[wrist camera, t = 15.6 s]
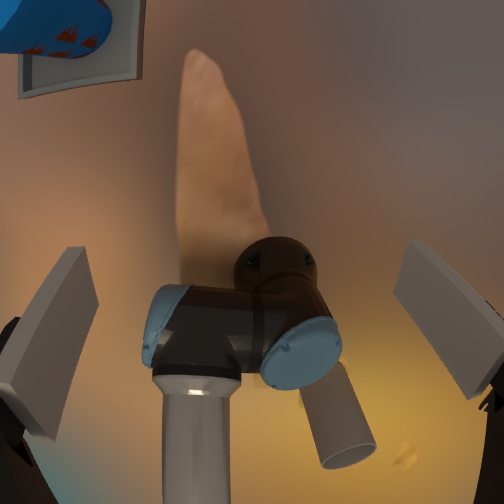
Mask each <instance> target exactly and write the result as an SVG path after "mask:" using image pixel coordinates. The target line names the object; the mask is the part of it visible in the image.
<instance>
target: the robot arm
mask: <svg viewBox="0 0 504 504" xmlns="http://www.w3.org/2000/svg"><path fill="white" fill-rule="evenodd" d="M234 283H235V288H236V289H226V288H215V287H205V286H195V285H194V284H188V285H172V284H168V285H165V286H162V287H161V288H160V289H159V290H158V291H157V292H156V294H155V296H154V298H153V301H152V303H151V306H150V309H149V313H148V316H147V320H146V325H145V330H144V336H143V340H144V342H143V347H142V362H143V364H144V365H145V366H147V367H148V368H153V371H152V381H153V382H154V383H155V384H156V385H157V387H158V388H159V389H160V390H161V392H162V393H163V409H162V496H163V504H231V497H230V424H229V423H230V421H229V420H230V410H229V409H230V407H229V405H230V403H229V399H230V397H231V395H232V394H233V393H234V392H235V391H236V390H237V389H238V388H239V387H240V386H241V373H260V376H261V378H262V379H263V380H264V382H265V383H266V384H267V385H269V386H271V387H272V388H274V389H277V390H294V389H299V388H302V387H305V386H308V385H310V384H312V383H314V382H316V381H317V380H319V379H320V378H322V377H323V376H325V375H326V374H327V373H328V372H329V371H330V370H331V369H332V368H333V367H334V366H335V364H336V363H337V361H338V360H339V358H340V355H341V352H342V340H341V337H340V334H339V331H338V327H337V323H336V322H335V320H334V319H333V317H332V315H331V313H330V311H329V309H328V307H327V305H326V303H325V302H324V300H323V298H322V296H321V294H320V292H319V290H318V288H317V267H316V263H315V261H314V259H313V257H312V255H311V253H310V252H309V250H308V249H307V248H306V247H305V246H304V245H303V244H302V243H300V242H299V241H297V240H294V239H292V238H287V237H270V238H265V239H262V240H260V241H258V242H256V243H254V244H252V245H251V246H249V247H248V248H247V249H246V250H245V251H244V252H243V253H242V254H241V256H240V257H239V259H238V260H237V262H236V265H235V268H234ZM393 293H394V295H395V296H396V297H397V299H398V300H399V301H400V303H401V304H402V305H403V307H404V308H405V310H406V311H407V312H408V314H409V315H410V316H411V318H412V319H413V320H414V322H415V323H416V324H417V326H418V327H419V329H420V330H421V331H422V333H423V334H424V336H425V337H426V339H427V340H428V341H429V343H430V344H431V345H432V347H433V349H434V350H435V351H436V353H437V354H438V356H439V357H440V359H441V360H442V361H443V363H444V365H445V366H446V367H447V369H448V371H449V372H450V374H451V375H452V376H453V378H454V380H455V381H456V383H457V384H458V386H459V387H460V389H461V390H462V392H463V394H464V395H465V397H466V399H467V400H470V399H472V398H475V397H477V396H479V395H481V394H482V393H483V391H484V390H485V388H486V387H487V386H488V385H489V383H490V384H491V386H492V387H493V389H492V390H491V391H490V393H489V394H488V395H487V397H486V398H485V399H484V400H483V402H482V403H481V404H480V406H479V410H481V409H482V408H483V406H484V405H485V404H486V403H488V406H487V407H486V408H485V409H484V411H486V412H488V414H487V425H486V435H485V444H484V451H483V458H482V464H481V470H480V475H479V481H478V485H477V490H476V494H475V499H474V503H473V504H504V319H503V318H501V316H500V315H499V314H498V313H497V312H495V309H494V308H493V307H492V306H491V305H490V304H489V303H488V302H487V301H486V300H484V299H483V298H482V297H481V296H480V295H479V294H478V293H477V292H476V291H475V290H474V289H473V288H472V287H471V286H470V285H469V284H468V283H467V282H466V281H465V280H464V279H463V278H462V277H461V276H460V275H459V274H458V273H457V272H456V271H455V270H453V268H451V267H450V266H449V265H448V264H447V263H446V262H445V261H444V260H443V259H442V258H441V257H440V256H439V255H438V254H436V253H435V252H434V251H433V250H432V249H431V248H430V247H429V246H428V245H426V244H425V243H424V242H423V241H422V240H411V241H410V240H409V241H408V245H407V248H406V252H405V256H404V259H403V262H402V266H401V269H400V272H399V276H398V280H397V282H396V285H395V288H394V291H393ZM98 306H99V303H98V299H97V295H96V292H95V288H94V284H93V280H92V276H91V272H90V267H89V263H88V259H87V254H86V249H85V247H84V246H83V247H82V246H81V247H68V248H67V249H66V250H65V252H64V253H63V254H62V256H61V257H60V258H59V260H58V261H57V263H56V264H55V266H54V267H53V268H52V270H51V271H50V273H49V274H48V276H47V277H46V279H45V280H44V282H43V283H42V285H41V286H40V288H39V289H38V291H37V293H36V294H35V296H34V297H33V299H32V300H31V302H30V304H29V305H28V307H27V308H26V310H25V312H24V313H23V315H22V317H15V318H14V319H13V320H12V321H10V322H9V323H8V324H7V325H6V326H5V327H4V329H3V331H2V332H1V334H0V504H58V502H57V500H56V498H55V497H54V495H53V493H52V491H51V490H50V488H49V486H48V484H47V482H46V481H45V479H44V477H43V475H42V473H41V471H40V469H39V467H38V465H37V463H36V461H35V459H34V457H33V455H32V453H31V451H30V448H29V446H28V444H27V442H26V441H25V439H24V438H23V434H24V430H25V428H26V429H27V431H28V432H29V433H30V434H31V435H32V436H33V438H35V439H40V440H44V441H48V442H53V443H55V440H56V436H57V432H58V428H59V424H60V420H61V416H62V413H63V409H64V406H65V402H66V399H67V395H68V392H69V388H70V385H71V382H72V379H73V376H74V373H75V370H76V366H77V363H78V360H79V357H80V354H81V352H82V349H83V346H84V343H85V340H86V338H87V335H88V332H89V329H90V327H91V324H92V321H93V319H94V316H95V314H96V311H97V309H98Z"/></svg>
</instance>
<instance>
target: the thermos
mask: <svg viewBox="0 0 504 504" xmlns="http://www.w3.org/2000/svg"><path fill="white" fill-rule="evenodd" d="M112 21H113V18H112V14H111V10H110V8H109V7H108V6H107V4H106V3H105V2H104V1H103V0H0V53H8V54H23V55H34V56H44V57H53V58H66V59H77V58H81V57H85V56H88V55H89V54H91V53H92V52H94V51H96V50H97V49H98V48H99V47H100V46H101V45H102V44H103V43H104V42H105V40H106V39H107V37H108V35H109V33H110V31H111V26H112Z"/></svg>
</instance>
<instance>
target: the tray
mask: <svg viewBox="0 0 504 504" xmlns="http://www.w3.org/2000/svg"><path fill="white" fill-rule="evenodd" d="M103 1H104V2H105V3H106V4H107V6H108V7H109V8H110V10H111V14H112V18H113V21H112V26H111V31H110V33H109V35H108V37H107V39H106V40H105V42H104V43H103V44H102V45H101V46H100V47H99V48H98V49H97V50H96V51H94V52H92V53H91V54H89V55H88V56H85V57H81V58H77V59H66V58H53V57H44V56H34V55H23V54H18V99H25V98H32V97H36V96H40V95H44V94H49V93H53V92H58V91H63V90H68V89H73V88H78V87H84V86H91V85H97V84H104V83H111V82H119V81H129V80H139V79H142V65H143V64H142V63H143V38H144V22H145V9H146V0H103Z"/></svg>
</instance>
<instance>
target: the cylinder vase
mask: <svg viewBox="0 0 504 504" xmlns="http://www.w3.org/2000/svg"><path fill="white" fill-rule="evenodd" d="M299 389H300V393H301V396H302V400H303V403H304V407H305V410H306V413H307V417H308V420H309V424H310V427H311V431H312V434H313V438H314V441H315V445H316V448H317V452H318V455H319V459H320V462H321V466H322V468H324V469H329V470H331V469H339V468H344V467H348V466H351V465H353V464H356V463H358V462H360V461H362V460H364V459H366V458H367V457H369V456H370V455H371V454H372V453H374V452H375V450H376V449H377V445H376V443H375V440H374V438H373V435H372V433H371V431H370V428H369V426H368V423H367V421H366V418H365V416H364V414H363V411H362V409H361V406H360V404H359V401H358V399H357V397H356V395H355V392H354V390H353V387H352V385H351V383H350V380H349V378H348V376H347V373H346V371H345V369H344V367H343V365H342V364H340V363H339V362H337V363H336V364H335V366H334V367H333V368H332V369H331V370H330V371H329V372H328V373H327V374H326V375H325V376H323V377H322V378H320V379H319V380H317V381H316V382H314V383H312V384H310V385H308V386H305V387H302V388H299Z"/></svg>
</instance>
